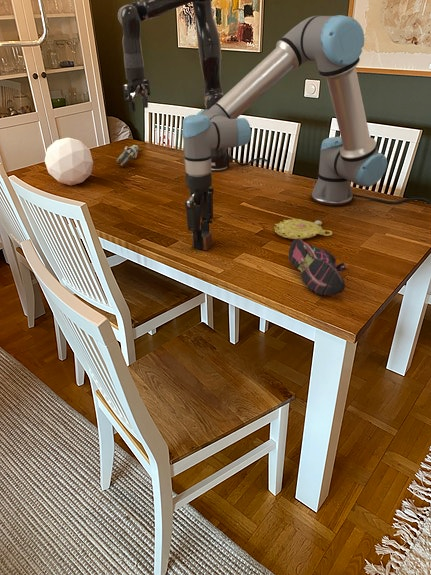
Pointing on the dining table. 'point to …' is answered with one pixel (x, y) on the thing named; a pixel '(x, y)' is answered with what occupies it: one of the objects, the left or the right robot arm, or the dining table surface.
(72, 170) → the sphere
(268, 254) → the dining table surface
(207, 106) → the left robot arm
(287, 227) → the decorative object
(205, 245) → the block
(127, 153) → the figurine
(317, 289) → the athletic shoe
